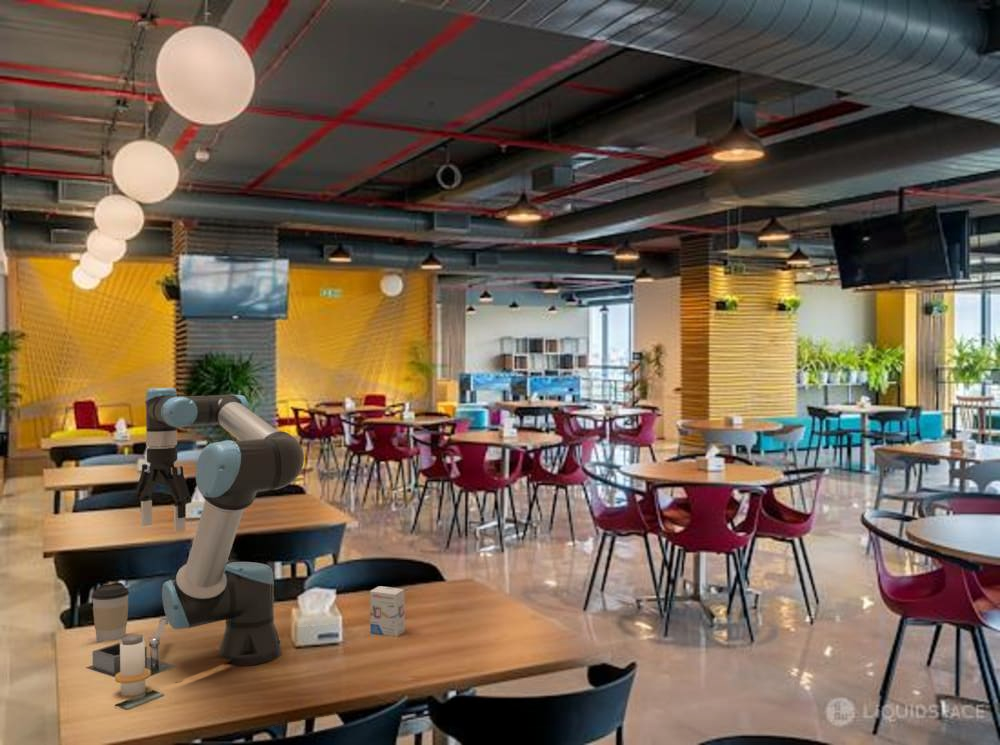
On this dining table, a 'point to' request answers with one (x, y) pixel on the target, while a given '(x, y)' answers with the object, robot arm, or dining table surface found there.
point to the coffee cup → (110, 611)
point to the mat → (140, 700)
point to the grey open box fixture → (109, 661)
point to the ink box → (387, 611)
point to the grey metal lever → (158, 633)
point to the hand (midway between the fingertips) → (162, 527)
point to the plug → (132, 667)
